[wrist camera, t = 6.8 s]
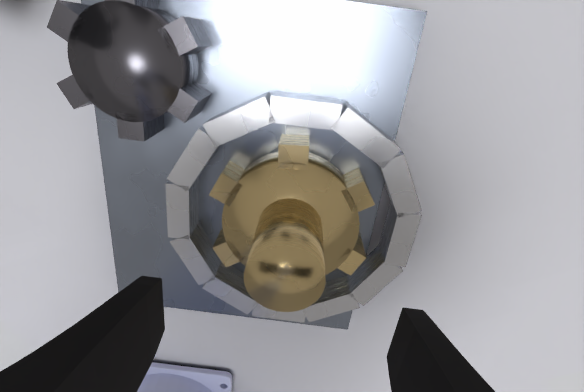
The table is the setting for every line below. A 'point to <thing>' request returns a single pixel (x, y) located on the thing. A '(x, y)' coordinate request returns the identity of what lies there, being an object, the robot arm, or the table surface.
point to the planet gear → (290, 223)
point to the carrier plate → (240, 128)
